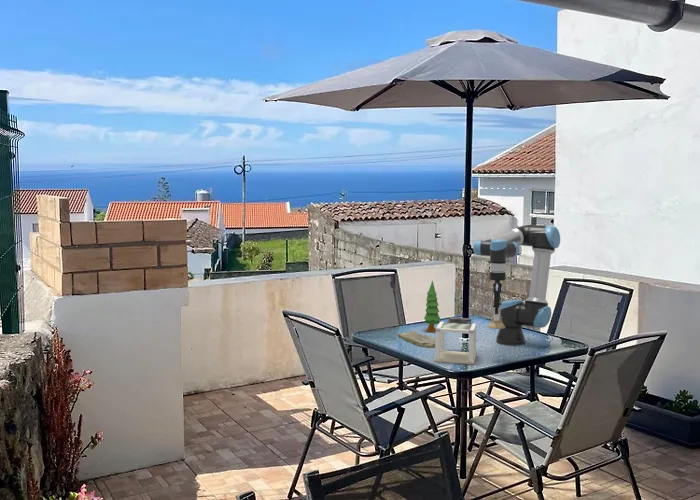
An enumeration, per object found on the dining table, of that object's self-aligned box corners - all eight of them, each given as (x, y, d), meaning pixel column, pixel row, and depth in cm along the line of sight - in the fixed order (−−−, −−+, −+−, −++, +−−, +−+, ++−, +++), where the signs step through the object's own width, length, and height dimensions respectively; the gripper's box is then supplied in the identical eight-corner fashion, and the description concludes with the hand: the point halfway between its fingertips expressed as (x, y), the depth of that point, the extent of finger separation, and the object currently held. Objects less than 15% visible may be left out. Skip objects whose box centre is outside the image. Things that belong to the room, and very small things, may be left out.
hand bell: (508, 328, 330) (509, 295, 328) (492, 329, 327) (493, 296, 326) (500, 324, 337) (500, 292, 336) (484, 326, 335) (485, 293, 333)
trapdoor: (472, 323, 352) (473, 318, 352) (468, 332, 328) (468, 328, 328) (447, 321, 355) (447, 317, 355) (441, 331, 331) (441, 326, 331)
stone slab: (424, 343, 356) (396, 330, 383) (424, 351, 357) (396, 337, 383) (444, 341, 361) (415, 328, 388) (444, 348, 362) (415, 335, 389)
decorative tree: (434, 329, 406) (435, 278, 403) (443, 332, 397) (444, 280, 395) (420, 330, 401) (421, 279, 398) (429, 333, 393) (430, 281, 390)
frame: (476, 354, 344) (477, 323, 343) (473, 364, 326) (474, 331, 324) (438, 352, 349) (439, 321, 347) (433, 361, 331) (434, 328, 329)
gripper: (490, 269, 339) (489, 315, 341) (488, 273, 322) (487, 322, 324) (506, 269, 337) (505, 316, 340) (505, 274, 320) (503, 323, 322)
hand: (496, 319), depth 332 cm, fingers closed on hand bell, 5 cm apart
